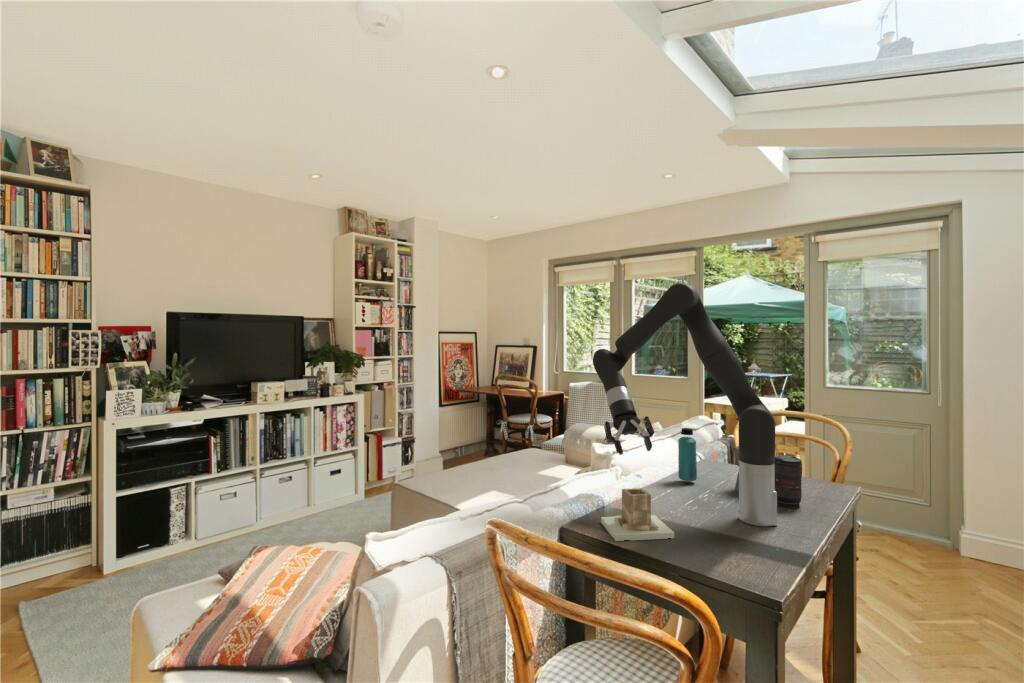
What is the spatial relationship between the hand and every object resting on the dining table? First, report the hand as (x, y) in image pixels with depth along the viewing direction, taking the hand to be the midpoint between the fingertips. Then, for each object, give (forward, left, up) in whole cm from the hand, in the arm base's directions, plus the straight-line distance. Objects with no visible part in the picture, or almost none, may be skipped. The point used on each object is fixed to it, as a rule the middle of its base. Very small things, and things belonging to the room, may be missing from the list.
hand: (635, 451), depth 142 cm
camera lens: (-47, -22, -20) cm, 56 cm away
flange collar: (0, +10, -18) cm, 20 cm away
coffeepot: (-39, -35, -20) cm, 56 cm away
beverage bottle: (-19, -40, -20) cm, 49 cm away
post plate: (0, +10, -19) cm, 22 cm away
